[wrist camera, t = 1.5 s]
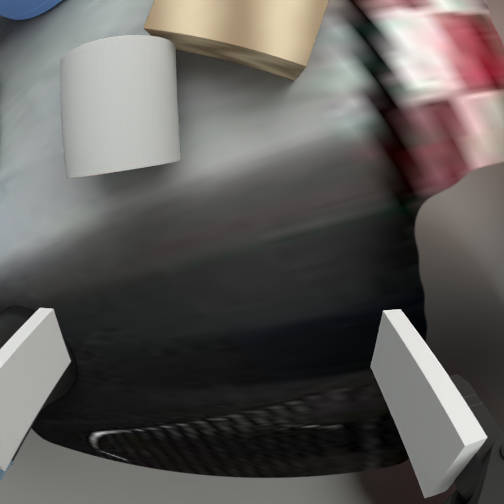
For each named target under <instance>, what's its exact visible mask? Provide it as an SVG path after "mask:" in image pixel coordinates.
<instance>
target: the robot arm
mask: <svg viewBox="0 0 504 504" xmlns="http://www.w3.org/2000/svg"><path fill="white" fill-rule="evenodd" d="M370 367H371V369H372V371H373V373H374V375H375V378H376V380H377V382H378V384H379V387H380V389H381V391H382V393H383V396H384V398H385V400H386V403H387V405H388V407H389V410H390V412H391V414H392V417H393V419H394V421H395V424H396V426H397V429H398V431H399V433H400V436H401V438H402V441H403V443H404V446H405V448H406V451H407V453H408V456H409V458H410V461H411V463H412V466H413V468H414V471H415V473H416V476H417V479H418V481H419V484H420V487H421V489H422V492H423V494H424V497H425V498H426V497H429V496H433V495H436V494H439V493H441V492H444V491H446V490H447V489H448V488H449V487H450V485H451V484H452V483H453V482H455V484H456V486H457V490H456V491H455V492H454V493H453V494H452V495H451V496H450V497H449V498H448V499H447V500H446V502H445V503H444V504H449V503H450V504H504V434H503V433H502V432H501V430H500V429H499V427H498V425H497V424H496V423H495V421H494V419H493V418H492V416H491V415H490V413H489V412H488V410H487V409H486V407H485V406H484V404H482V401H481V400H480V399H479V397H478V395H477V396H476V392H475V391H474V390H473V388H472V387H471V385H470V384H469V383H468V382H467V381H466V380H464V379H463V378H462V377H460V376H459V375H452V376H448V375H447V373H446V372H445V370H444V369H443V367H442V366H441V364H440V363H439V362H438V360H437V359H436V357H435V356H434V355H433V353H432V352H431V350H430V349H429V347H428V346H427V345H426V343H425V342H424V340H423V339H422V338H421V336H420V335H419V333H418V332H417V331H416V329H415V328H414V327H413V325H412V324H411V323H410V321H409V320H408V319H407V317H406V316H405V315H404V313H403V312H402V311H401V309H398V310H384V311H383V313H382V318H381V323H380V328H379V332H378V337H377V341H376V346H375V350H374V354H373V358H372V362H371V366H370ZM75 377H76V363H75V360H74V357H73V354H72V352H71V350H70V348H69V346H68V345H67V343H66V341H65V340H64V339H63V337H62V334H61V331H60V328H59V325H58V322H57V319H56V316H55V312H54V309H49V308H39V309H38V310H37V311H36V312H33V311H31V310H29V309H27V308H24V307H19V306H13V307H9V308H7V309H5V310H4V311H3V312H2V313H0V480H1V479H2V478H3V476H4V475H5V473H6V472H7V470H8V469H9V467H10V466H11V465H13V461H14V459H15V457H16V455H17V453H18V451H19V449H20V447H21V446H22V444H23V442H24V440H25V438H26V436H27V435H28V433H29V431H30V429H31V428H32V426H33V424H34V422H35V421H36V419H37V417H38V415H39V414H40V412H41V411H42V409H44V408H45V407H47V406H48V405H50V404H51V403H52V402H54V401H55V400H57V399H58V398H59V397H61V396H62V395H64V394H65V393H66V392H67V391H68V390H69V388H70V387H71V385H72V383H73V382H74V380H75Z"/></svg>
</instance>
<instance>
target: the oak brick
mask: <svg viewBox="0 0 504 504" xmlns="http://www.w3.org/2000/svg"><path fill="white" fill-rule="evenodd" d="M328 2H329V0H155V1H154V3H153V6H152V8H151V10H150V13H149V15H148V18H147V20H146V23H145V25H144V29H145V30H146V31H147V32H148V33H149V34H150V35H152V36H156V37H161V38H164V39H167V40H170V41H171V42H173V43H174V44H175V46H176V50H181V51H186V52H191V53H196V54H201V55H205V56H210V57H214V58H218V59H222V60H226V61H230V62H234V63H238V64H242V65H246V66H249V67H253V68H256V69H260V70H263V71H266V72H270V73H273V74H276V75H279V76H282V77H285V78H288V79H291V80H294V81H295V80H296V79H297V77H298V76H299V75H300V74H301V72H302V71H303V70H304V69H305V68H306V66H307V63H308V60H309V57H310V54H311V51H312V48H313V45H314V42H315V40H316V37H317V34H318V31H319V28H320V25H321V22H322V19H323V16H324V13H325V10H326V7H327V4H328Z"/></svg>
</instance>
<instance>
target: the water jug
mask: <svg viewBox="0 0 504 504" xmlns="http://www.w3.org/2000/svg"><path fill="white" fill-rule="evenodd" d="M61 1H62V0H0V15H1V16H3V17H6V18H9V19H13V20H24V19H29V18H32V17H35V16H38V15H40V14H42V13H44V12H46V11H47V10H49V9H51V8H52V7H54V6H55V5H57V4H58V3H59V2H61Z"/></svg>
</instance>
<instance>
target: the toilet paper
mask: <svg viewBox="0 0 504 504" xmlns="http://www.w3.org/2000/svg"><path fill="white" fill-rule="evenodd" d="M61 118H62V134H63V147H64V157H65V167H66V175H67V178H77V177H85V176H92V175H99V174H106V173H112V172H118V171H125V170H131V169H137V168H143V167H149V166H155V165H161V164H166V163H171V162H176V161H179V160H181V151H180V136H179V120H178V101H177V78H176V46H175V44H174V43H173V42H171V41H170V40H167V39H164V38H161V37H156V36H148V35H124V36H115V37H108V38H103V39H99V40H95V41H91V42H88V43H85V44H83V45H80V46H78V47H76V48H74V49H72V50H70V51H69V52H67V53H66V54H65V55H64V56H63V57H62V58H61Z"/></svg>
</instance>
